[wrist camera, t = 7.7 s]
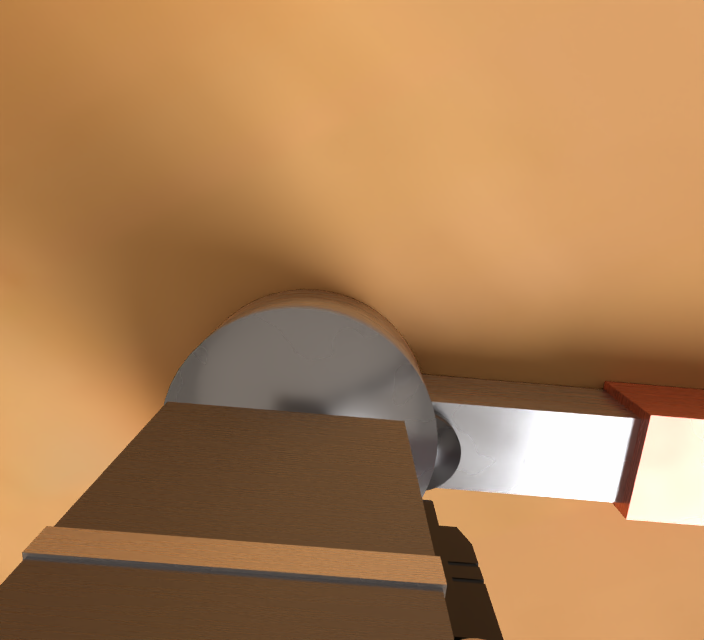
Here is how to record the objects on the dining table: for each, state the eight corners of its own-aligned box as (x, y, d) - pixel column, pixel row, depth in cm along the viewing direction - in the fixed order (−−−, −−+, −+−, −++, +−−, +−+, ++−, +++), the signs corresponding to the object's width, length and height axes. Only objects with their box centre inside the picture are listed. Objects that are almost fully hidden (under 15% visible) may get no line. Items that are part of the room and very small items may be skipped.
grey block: (406, 418, 11) (470, 680, 5) (382, 619, 12) (410, 1019, 6) (164, 399, 11) (-60, 640, 5) (164, 603, 12) (-17, 993, 6)
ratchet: (798, 330, 17) (1031, 401, 11) (735, 540, 19) (906, 695, 13) (194, 279, 17) (106, 323, 11) (191, 496, 19) (115, 634, 13)
